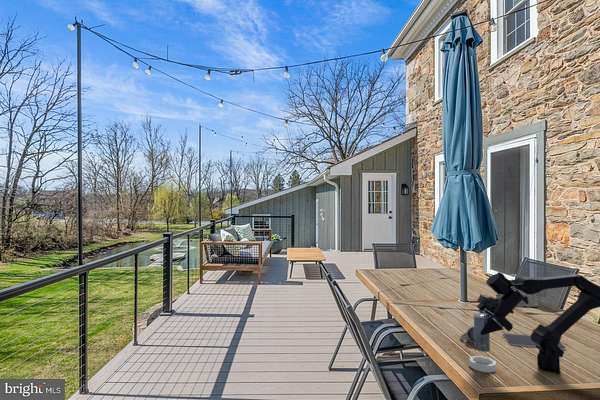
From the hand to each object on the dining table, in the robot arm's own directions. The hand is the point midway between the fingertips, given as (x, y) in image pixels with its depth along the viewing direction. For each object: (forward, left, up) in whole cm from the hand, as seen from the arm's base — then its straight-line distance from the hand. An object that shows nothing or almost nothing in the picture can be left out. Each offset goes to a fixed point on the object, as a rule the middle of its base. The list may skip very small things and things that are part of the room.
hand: (478, 331), depth 136 cm
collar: (-1, 0, -13) cm, 13 cm away
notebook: (-16, -41, -14) cm, 47 cm away
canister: (-1, -1, -7) cm, 7 cm away
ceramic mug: (+6, -28, -14) cm, 32 cm away
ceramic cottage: (-9, -118, -14) cm, 119 cm away
